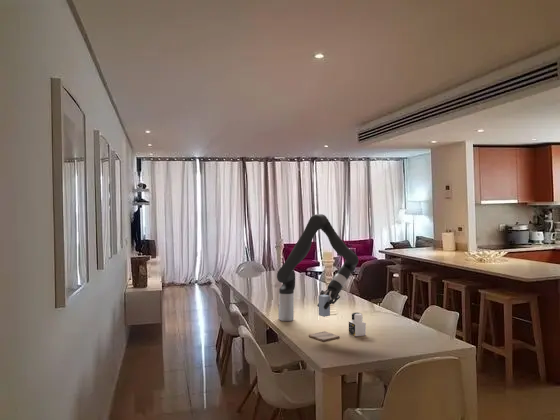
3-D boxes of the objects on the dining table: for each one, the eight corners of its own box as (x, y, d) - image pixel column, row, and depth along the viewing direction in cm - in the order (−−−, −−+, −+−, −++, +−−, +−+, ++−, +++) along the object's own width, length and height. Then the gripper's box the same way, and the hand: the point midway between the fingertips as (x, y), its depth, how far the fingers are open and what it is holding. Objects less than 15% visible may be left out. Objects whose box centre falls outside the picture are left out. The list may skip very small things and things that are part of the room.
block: (318, 315, 251) (318, 295, 251) (324, 314, 254) (324, 294, 254) (324, 316, 248) (323, 296, 248) (330, 315, 250) (329, 295, 250)
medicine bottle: (348, 333, 259) (348, 312, 259) (359, 332, 261) (359, 311, 261) (354, 336, 252) (354, 315, 252) (365, 335, 255) (365, 314, 255)
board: (308, 336, 252) (308, 334, 252) (324, 332, 259) (324, 331, 259) (323, 341, 243) (323, 339, 243) (339, 337, 250) (339, 336, 250)
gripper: (325, 277, 261) (309, 301, 254) (343, 281, 250) (327, 305, 242) (332, 285, 264) (316, 309, 257) (349, 289, 253) (334, 314, 246)
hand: (321, 307), depth 250 cm, fingers closed on block, 4 cm apart
